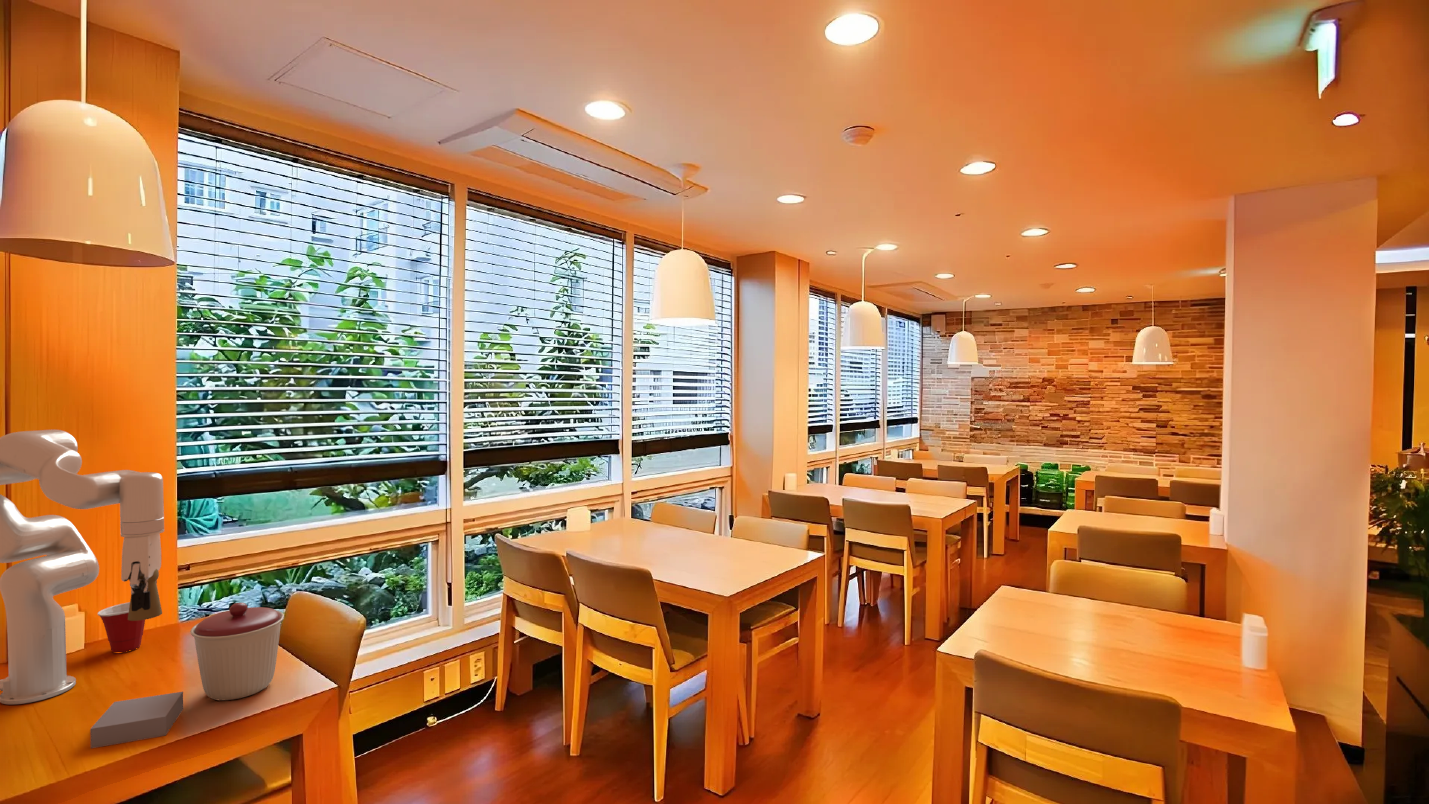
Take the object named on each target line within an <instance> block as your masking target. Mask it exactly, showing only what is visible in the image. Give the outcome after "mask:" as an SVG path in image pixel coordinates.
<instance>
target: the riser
mask: <svg viewBox="0 0 1429 804" xmlns="http://www.w3.org/2000/svg"><path fill="white" fill-rule="evenodd" d="M183 710H184V691H177V692H172V693H171V692H170V693H165V694H158V695H153V696H151V695H150V696H146V697H138V698H131V699H126V700H119V701H118V700H117V701H114V702H113V703H112V704H111V705H110V706H109V707H108V709H107V710H106V711H105V712H104V713H103V714H102V715H101V716H100V717H99V718H98V719H97V720H96V722H95V723H94V724H93V725H92V726H91V728H90V749H95V748H100V747H105V746H106V747H107V746H112V745H118V744H123V743H129V742H136V741H141V740H146V739H147V740H148V739H153V738H158V737H164V736H166V735H167V734H168V733H169V732H170V730H171V728H172V727H173V725H174V724H175V723H176V721H177V719H178V718H179V716H180V715H181V713H182V712H183ZM173 723H174V724H173ZM169 729H170V730H169Z"/></svg>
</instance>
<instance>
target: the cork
mask: <svg viewBox="0 0 1429 804" xmlns="http://www.w3.org/2000/svg"><path fill="white" fill-rule="evenodd" d="M159 573H160V571H158V570H157V569H156V570H155V571H154V573H153V576H151V577H150V578H148V579H149V582H148V591H150V606H151V607H150V609H148V610H144V609H143V608H141V609H139V610H137V611H132V605H131V598H129V599H130V600H129V602H130V606H129V613H128V620H130V621H139V620H145V621H146V620H149V619H150V620H151V619H154V618H157V617H160V616H161V615H162V614H163V611H162V605H161V600H160V595H159V589H158V585H157V584H156V580H157V581H158V579H159V578H160V577H159V575H160V574H159ZM131 574H132V572H131ZM130 576H131V575H130ZM139 579H144V576H140V578H139ZM130 580H131V577H130V579H129V580H128V581H129V582H130ZM140 583H143V585H144V581H142V582H140Z"/></svg>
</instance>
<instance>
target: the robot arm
mask: <svg viewBox="0 0 1429 804" xmlns="http://www.w3.org/2000/svg"><path fill="white" fill-rule="evenodd" d="M78 448H79V447H78V442H77V440H76V438H75V437H74V436H73V435H72V434H70V433H69V432H67V431H65V430H61V429H43V430H42V429H40V430H24V431H17V432H16V431H15V432H11V433H7V434H5V435H2V436H0V486H2V485H12V484H17V483H25V482H29V481H30V482H31V481H34V480H38V482H39V486H40V489H41V491H42V493H43V494H44V496H45V497H46V498H47V499H49V500H51V501H53V502H55V503H57V504H60V505H63V506H65V507H68V508H70V509H76V510H89V509H95V508H99V507H100V508H101V507H105V506H111V505H118V504H119V516H120V518H119V519H120V526H119V527H120V537H122V538H123V542H122V549H121V572H120V573H121V575H120V576H121V577H120V579H121V581H122V582H125V583H126V582H128V581H129V579H130V577H131V580H130V581H129V587H130V599H131V605H132V611H137V610H139V609H141V608H143V609H144V610H148V609H150V607H151V606H150V591H148V582H149V579H148V578H150V577H151V576H153V573H154V571H155V570H156V569H157V570H158V572H160V569H161V568H162V547H161V546H162V545H161V544H162V543H161V535H160V534H162V533H164V532H165V513H164V512H165V508H164V478H163V476H162V474H160V473H158V472H152V471H151V472H148V471H144V472H143V471H142V472H140V471H135V470H130V469H121V470H120V469H119V470H113V471H104V472H97V473H89V474H83V475H82V474H78V472H80V470H81V468H82V464H83V460H82V456H81V455H80V453H78V450H79V449H78ZM28 559H29V560H28ZM98 561H99V560H98V559H97V557H96V555H95V554H94V552H93V550H92V549H91V547H90V546H89V544H88V543H87V542H86V540H85V539H84V537H83V536H82V534H81V533H80V532H79V530H78V528H76V526H75V525H74V524H73V522H72V521H70V520H69V519H67V518H66V517H64V516H61V515H56V514H45V515H41V516H40V515H39V516H33V517H26V516H24V515H23V514H22V513H21V512H20V510H19V509H18V508H17V506H16V505H15V503H14V502H13V501H11V500H10V499H9V498H7V497H6V496H4V495H2V494H1V493H0V563H1V564H7V563H14V562H19V563H16V564H14V565H12V566H9V567H8V568H7V569H6V570H5V571H4V572H3V573H2V574H1V576H0V594H1V598H2V600H3V603H4V609H5V614H6V630H7V631H6V632H7V661H8V676H7V677H5V678H3V679H0V691H1V693H0V703H1V704H4V705H23V704H30V703H34V702H40V701H43V700H48V699H51V698H52V697H55V696H58V695H61V694H64V693H65V692H67V691H69V690H71V689H72V688H73V687H75V685H76V684H77V682H76V681H77V679H76V677H74V676H71V675H68V674H67V642H66V638H67V637H66V633H67V632H66V615H65V614H66V613H65V610H64V609H63V607H62V606H61V605H60V604H59V603H58V602H57V601H56V600H55V599H54V596H58V595H60V594H64V593H67V592H70V591H73V590H77V589H81V588H84V587H86V586H87V585H90V584H91V583H93V582H94V581H95V580H96V579H97V577H98V576H99V573H100V565H99V562H98ZM131 572H132V574H131ZM130 575H131V576H130ZM140 576H144V579H139V578H140ZM142 581H144V585H143V583H140V582H142ZM157 583H158V579H157V580H156V584H157Z"/></svg>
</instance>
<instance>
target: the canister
mask: <svg viewBox="0 0 1429 804" xmlns="http://www.w3.org/2000/svg"><path fill="white" fill-rule="evenodd" d="M284 619H285V614H284V613H283V612H282V611H280V610H276V609H274V608H271V607H266V606H265V607H261V606H258V607H257V606H255V607H254V606H253V607H248V605H247V603H245V602H235V603H233V604H232V605H231V606H230V607H229V609H228V610H227V611H222V612H219V613H217V614H213V615H211V616H208V617H207V618H204V619H203V620H201V621H200V622H198V623H197V624H195V625H194V626H193V627H192V628H191V629H190V633H189V634H190V635H191V636H192V637H194V644H195V650H196V655H197V656H196V657H197V663H198V669H199V670H198V671H199V675H200V679H201V680H200V681H201V685H202V689H203V691H204V693H205V695H206V696H207V697H208V698H210V699H212V700H216V701H230V700H238V699H242V698H246V697H249V696H252V695H255V694H256V693H259V692H261V691H263V690H264V689H266V688H267V687H268V686H269V685H270V684H271V683H272V681H273V678H274V676H275V672H276V665H277V659H278V650H279V644H280V643H279V641H280V635H281V633H280V631H281V622H283V621H284Z"/></svg>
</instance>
